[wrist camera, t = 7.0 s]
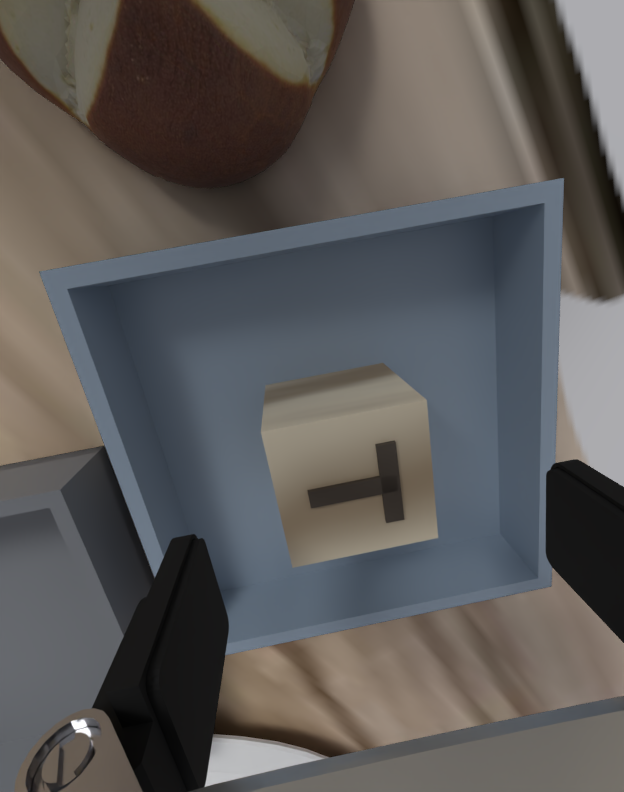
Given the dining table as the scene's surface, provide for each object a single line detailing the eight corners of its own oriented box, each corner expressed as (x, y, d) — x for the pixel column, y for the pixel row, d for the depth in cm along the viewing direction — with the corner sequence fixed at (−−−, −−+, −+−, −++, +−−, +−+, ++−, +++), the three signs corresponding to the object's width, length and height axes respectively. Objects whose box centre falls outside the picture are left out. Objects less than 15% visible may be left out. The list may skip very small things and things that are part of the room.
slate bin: (94, 271, 15) (39, 271, 11) (499, 199, 15) (563, 178, 12) (202, 595, 20) (186, 663, 16) (505, 533, 20) (551, 586, 17)
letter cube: (265, 385, 16) (260, 433, 11) (382, 362, 16) (428, 401, 11) (288, 490, 18) (293, 573, 13) (395, 469, 18) (440, 543, 13)
